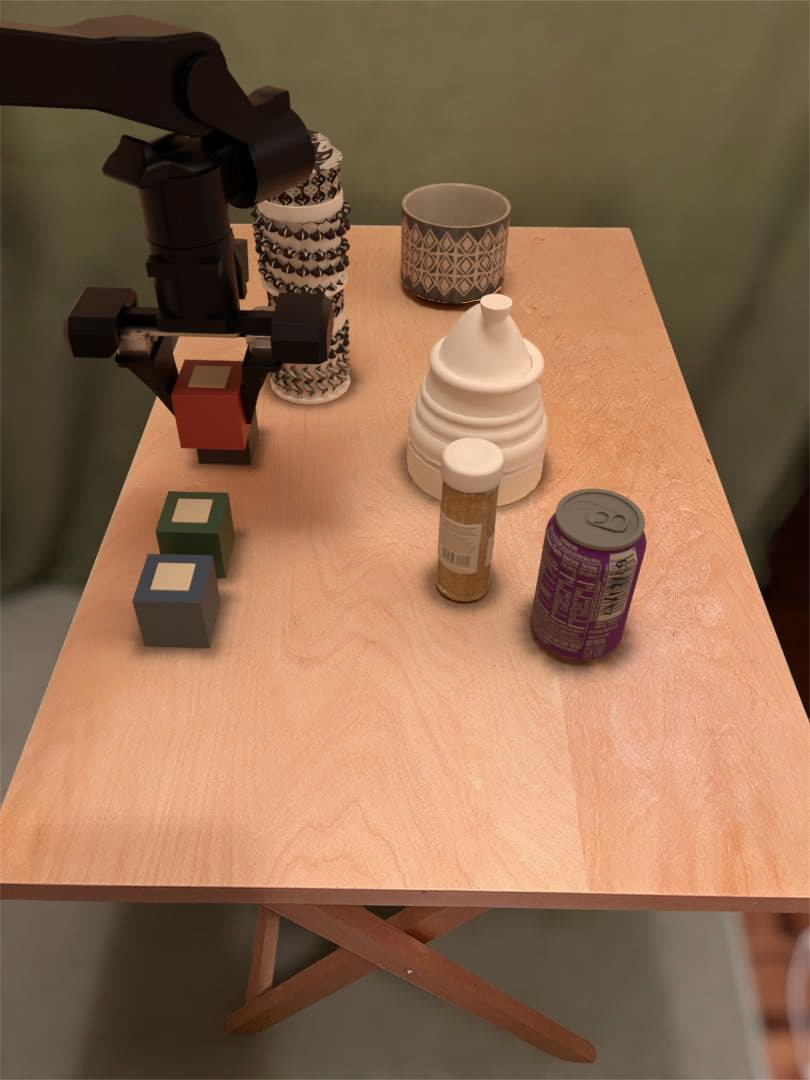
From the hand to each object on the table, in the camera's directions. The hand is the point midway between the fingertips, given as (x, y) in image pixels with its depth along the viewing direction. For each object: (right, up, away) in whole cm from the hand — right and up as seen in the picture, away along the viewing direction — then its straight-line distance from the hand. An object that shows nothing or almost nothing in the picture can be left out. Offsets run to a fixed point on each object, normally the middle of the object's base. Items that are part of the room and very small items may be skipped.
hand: (216, 420), depth 72 cm
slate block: (-2, -16, -1) cm, 16 cm away
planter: (+21, +22, +41) cm, 50 cm away
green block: (-2, -11, +5) cm, 12 cm away
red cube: (0, -1, +1) cm, 1 cm away
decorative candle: (+5, +7, +24) cm, 26 cm away
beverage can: (+28, -17, -1) cm, 33 cm away
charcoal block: (-2, -1, +16) cm, 16 cm away
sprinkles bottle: (+20, -13, +3) cm, 24 cm away
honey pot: (+22, -2, +15) cm, 26 cm away
